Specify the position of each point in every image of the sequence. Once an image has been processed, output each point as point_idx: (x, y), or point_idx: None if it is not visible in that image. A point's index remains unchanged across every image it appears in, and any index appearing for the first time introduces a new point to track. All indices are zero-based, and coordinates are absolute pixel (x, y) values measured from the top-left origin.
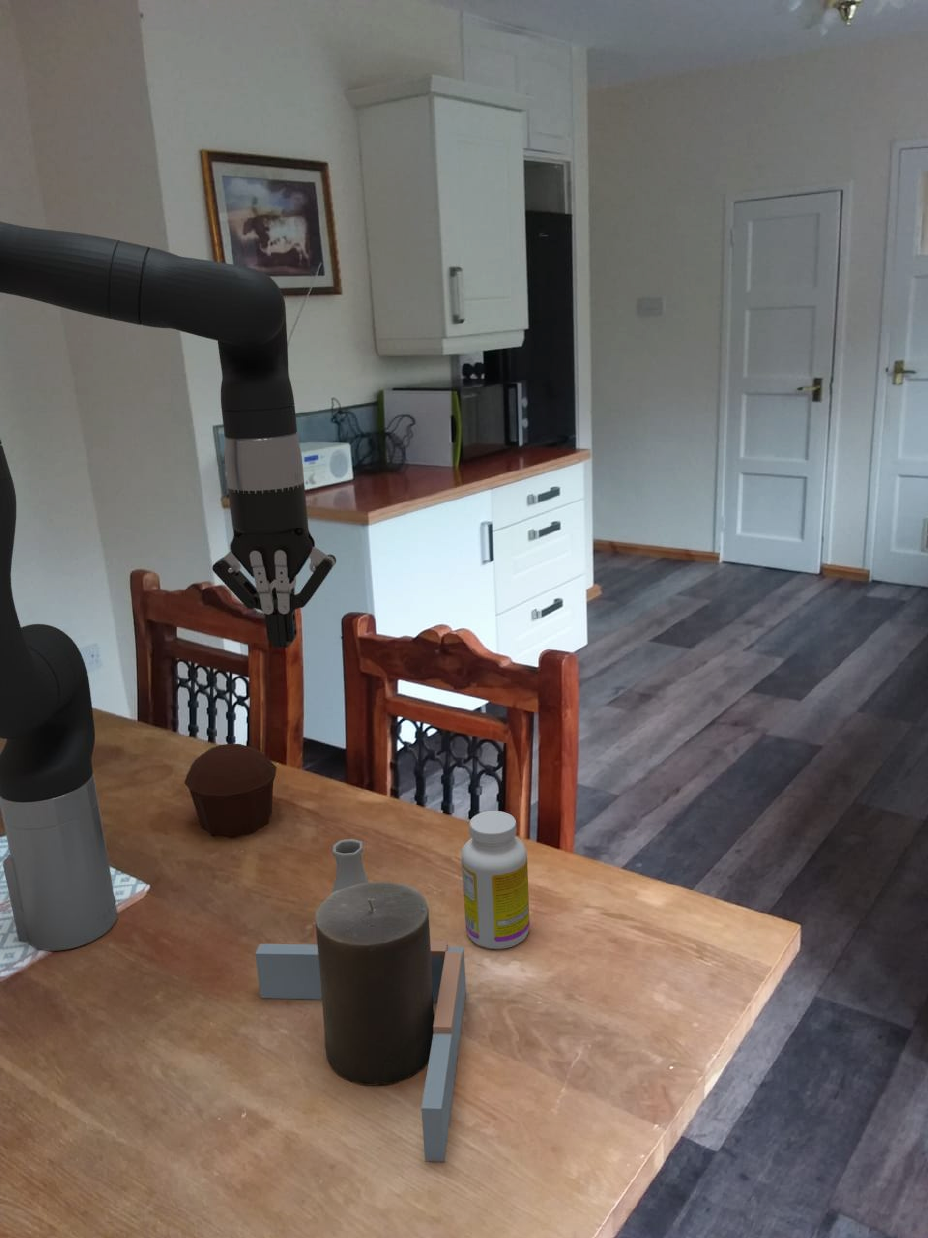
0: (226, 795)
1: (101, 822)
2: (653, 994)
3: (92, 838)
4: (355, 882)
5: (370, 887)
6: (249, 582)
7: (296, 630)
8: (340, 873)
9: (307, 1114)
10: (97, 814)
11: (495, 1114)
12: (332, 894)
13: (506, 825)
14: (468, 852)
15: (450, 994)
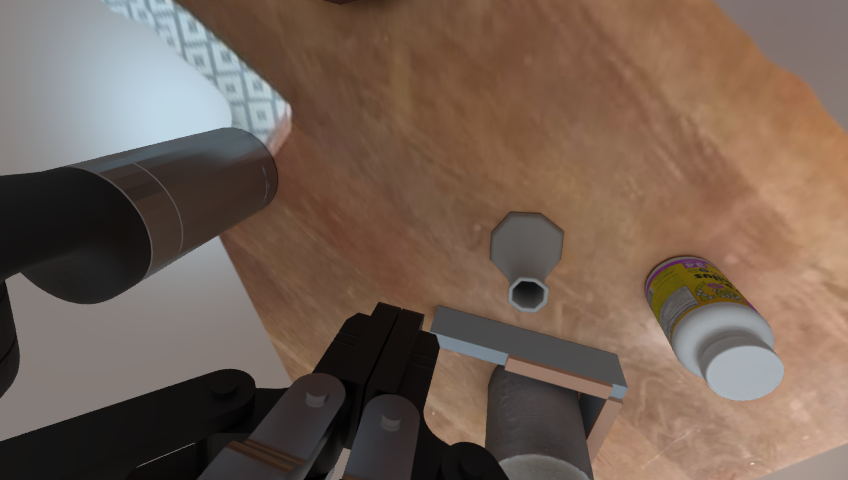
0: (341, 4)
1: (201, 197)
2: (793, 401)
3: (207, 228)
4: (531, 291)
5: (542, 466)
6: (139, 456)
7: (437, 356)
8: (515, 289)
9: (474, 424)
10: (192, 218)
11: (600, 458)
12: (500, 463)
13: (760, 387)
14: (685, 355)
15: (595, 445)
